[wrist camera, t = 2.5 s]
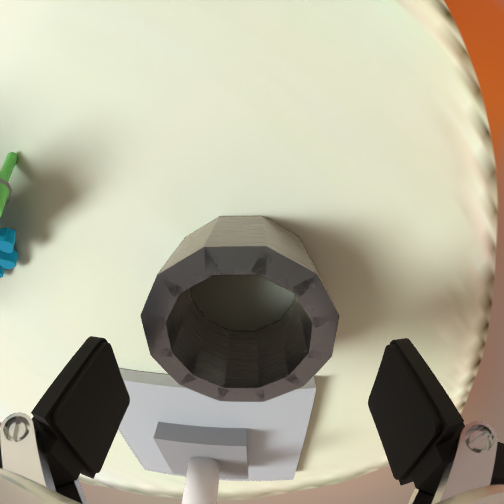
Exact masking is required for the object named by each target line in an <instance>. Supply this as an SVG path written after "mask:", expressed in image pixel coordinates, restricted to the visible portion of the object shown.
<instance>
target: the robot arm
mask: <svg viewBox="0 0 504 504" xmlns="http://www.w3.org/2000/svg"><path fill="white" fill-rule="evenodd" d="M129 403H130V396H129V393H128V391H127V388H126V386H125V383H124V381H123V378H122V375H121V373H120V370H119V367H118V364H117V361H116V359H115V356H114V353H113V350H112V347H111V345H110V343H108V342H107V340H106V339H104V338H99V337H92V336H91V337H89V338H88V339H87V340H86V341H85V342H84V344H83V345H82V346H81V347H80V349H79V350H78V351H77V352H76V353H75V355H74V356H73V357H72V359H71V360H70V361H69V362H68V364H67V365H66V366H65V367H64V369H63V370H62V371H61V373H60V374H59V375H58V376H57V378H56V379H55V380H54V382H53V383H52V384H51V386H50V387H49V388H48V390H47V391H46V393H45V394H44V395H43V397H42V398H41V399H40V401H39V402H38V404H37V405H36V406H35V408H34V409H33V411H32V412H31V413H32V414H33V416H34V417H33V418H32V419H31V418H30V417H29V416H28V415H26V414H24V413H14V414H11V415H9V416H8V417H7V418H6V419H5V420H4V421H3V422H2V425H1V428H0V504H88V502H87V500H86V498H85V496H84V493H83V490H82V488H81V485H80V482H79V480H78V477H79V474H80V473H81V474H83V475H85V476H88V477H91V478H93V479H94V476H95V474H96V473H98V472H100V470H101V468H102V466H103V463H104V461H105V458H106V456H107V454H108V451H109V449H110V447H111V444H112V442H113V440H114V437H115V435H116V433H117V430H118V428H119V426H120V424H121V421H122V419H123V417H124V415H125V413H126V410H127V408H128V406H129ZM368 405H369V409H370V412H371V414H372V417H373V420H374V422H375V425H376V428H377V430H378V433H379V436H380V439H381V441H382V444H383V447H384V450H385V453H386V456H387V459H388V461H389V464H390V467H391V470H392V473H393V476H394V478H395V479H396V480H398V479H399V482H400V485H404V484H407V483H410V482H414V484H415V487H416V488H415V491H414V493H413V495H412V497H411V499H410V501H409V503H408V504H504V444H503V443H500V442H498V440H497V434H496V432H495V430H494V429H493V427H492V426H490V425H489V424H487V423H485V422H483V421H474V422H471V423H469V424H467V425H466V426H465V425H464V423H463V421H464V420H463V418H462V417H461V415H460V414H459V412H458V410H457V409H456V407H455V406H454V404H453V402H452V401H451V399H450V398H449V396H448V395H447V393H446V392H445V390H444V389H443V387H442V386H441V384H440V383H439V381H438V380H437V378H436V377H435V375H434V374H433V372H432V371H431V369H430V368H429V366H428V365H427V364H426V362H425V361H424V359H423V358H422V356H421V355H420V354H419V352H418V351H417V349H416V348H415V347H414V345H413V344H412V343H411V341H410V340H409V339H407V338H405V339H398V340H393V341H391V342H390V345H387V346H386V348H385V351H384V355H383V358H382V361H381V364H380V367H379V371H378V374H377V377H376V379H375V382H374V385H373V388H372V391H371V394H370V396H369V400H368Z"/></svg>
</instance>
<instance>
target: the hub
mask: <svg viewBox="0 0 504 504" xmlns="http://www.w3.org/2000/svg"><path fill="white" fill-rule="evenodd" d="M212 275H260V276H262V277H264V278H266V279H268V280H270V281H272V282H274V283H276V284H277V285H279V286H281V287H283V288H285V289H287V290H289V291H291V292H293V293H295V294H296V295H295V301H294V302H293V303H292V305H291V306H290V308H289V309H288V310H287V312H286V313H285V315H284V316H283V317H282V319H281V320H279V321H277V322H275V323H273V324H271V325H269V326H267V327H265V328H263V329H261V330H259V331H229V330H227V329H225V328H223V327H221V326H219V325H217V324H214V323H212V322H210V321H208V320H207V319H206V318H205V317H204V315H203V314H202V313H201V311H200V310H199V309H198V308H197V306H196V305H195V304H194V302H193V301H192V299H191V290H190V288H191V287H192V286H194V285H196V284H198V283H200V282H202V281H203V280H205V279H207V278H209V277H211V276H212ZM141 319H142V323H143V328H144V332H145V336H146V339H147V343H148V347H149V351H150V354H151V356H152V357H153V358H154V359H155V360H156V361H157V362H158V363H159V364H160V365H161V367H162V368H163V369H164V370H165V371H166V372H167V373H168V374H169V375H170V376H171V377H172V378H173V379H174V380H175V381H176V382H177V383H178V384H179V385H181V386H183V387H186V388H188V389H190V390H193V391H195V392H198V393H200V394H203V395H205V396H208V397H210V398H213V399H215V400H218V401H228V402H264V401H267V400H270V399H273V398H275V397H278V396H281V395H283V394H286V393H288V392H291V391H293V390H296V389H298V388H301V387H303V386H304V385H305V384H306V383H307V382H308V381H309V380H310V379H311V378H312V377H313V376H314V375H315V374H316V373H317V372H318V371H319V370H320V369H321V368H322V366H323V365H324V364H325V363H326V362H327V361H328V360H329V359H330V358H331V357H332V352H333V347H334V342H335V336H336V331H337V325H338V319H339V314H338V312H337V310H336V308H335V306H334V304H333V302H332V300H331V298H330V296H329V294H328V292H327V290H326V288H325V286H324V284H323V282H322V279H321V277H320V275H319V273H318V272H317V270H316V268H315V266H314V264H313V262H312V260H311V258H310V257H309V255H308V253H307V251H306V249H305V247H304V246H303V244H302V242H301V240H300V238H299V236H297V235H295V234H294V233H292V232H290V231H288V230H287V229H285V228H283V227H281V226H280V225H278V224H276V223H274V222H272V221H271V220H269V219H267V218H265V217H263V216H219V217H218V218H216V219H215V220H213V221H211V222H210V223H208V224H206V225H205V226H203V227H201V228H200V229H198V230H196V231H195V232H193V233H192V234H190V235H188V236H187V237H185V238H184V240H183V241H182V242H181V244H180V245H179V246H178V248H177V249H176V250H175V252H174V253H173V254H172V256H171V257H170V258H169V260H168V261H167V262H166V264H165V265H164V266H163V268H162V269H161V270H160V272H159V273H158V274H157V277H156V279H155V282H154V284H153V286H152V289H151V291H150V293H149V296H148V298H147V301H146V303H145V306H144V308H143V311H142V313H141Z"/></svg>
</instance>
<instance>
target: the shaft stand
mask: <svg viewBox="0 0 504 504" xmlns="http://www.w3.org/2000/svg"><path fill="white" fill-rule="evenodd" d="M119 370H120V373H121V375H122V378H123V381H124V383H125V386H126V388H127V391H128V393H129V396H130V403H129V406H128V408H127V410H126V413H125V415H124V417H123V419H122V421H121V424H120V426H119V428H118V430H119V431H120V433H121V435H122V436H123V438H124V439H125V441H126V442H127V444H128V446H129V447H130V449H131V450H132V452H133V453H134V455H135V456H136V457H137V459H138V460H139V462H140V463H141V464H142V466H143V467H144V469H145V470H149V471H154V472H159V473H165V474H171V475H178V476H185V477H186V482H185V488H184V494H183V500H182V504H217V495H218V484H219V480H231V481H274V480H292V479H293V478H294V475H295V472H296V468H297V465H298V461H299V458H300V454H301V451H302V447H303V443H304V439H305V435H306V431H307V427H308V423H309V419H310V415H311V411H312V406H313V402H314V397H315V393H316V384H315V379H314V376H313V377H312V378H311V379H310V380H309V381H308V382H307V383H306V384H305V385H304V386H303V387H301V388H298V389H296V390H293V391H291V392H288V393H286V394H283V395H281V396H278V397H275V398H273V399H270V400H267V401H264V402H228V401H218V400H215V399H213V398H210V397H208V396H205V395H203V394H200V393H198V392H195V391H193V390H190V389H188V388H186V387H183V386H181V385H179V384H178V383H177V382H176V381H175V380H174V379H173V378H172V377H171V376H170V375H168V374H158V373H149V372H141V371H134V370H127V369H120V368H119Z"/></svg>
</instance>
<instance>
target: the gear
mask: <svg viewBox="0 0 504 504" xmlns="http://www.w3.org/2000/svg"><path fill="white" fill-rule="evenodd" d="M17 158H18V156H17V154H16V153H14V152H10V153H9V154H8V156H7V158H6V160H5V162H4V164H3V166H2V169H1V171H0V217H1V215H2V212H3V209H4V207H6V206H7V204H8V201H9V198H10V195H11V191H12V190H11V186H10V185H9V184H8V180H9V178H10V175H11V173H12V170H13V168H14V166H15V163H16V161H17ZM15 239H16V231H15V230H13V229H10V228H0V277H3V274H4V268H5V269H8V270H9V269H12V268H13V267H15V266H16V262H17V256H18V252H17V251H15V250H13V249H14V244H15Z"/></svg>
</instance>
